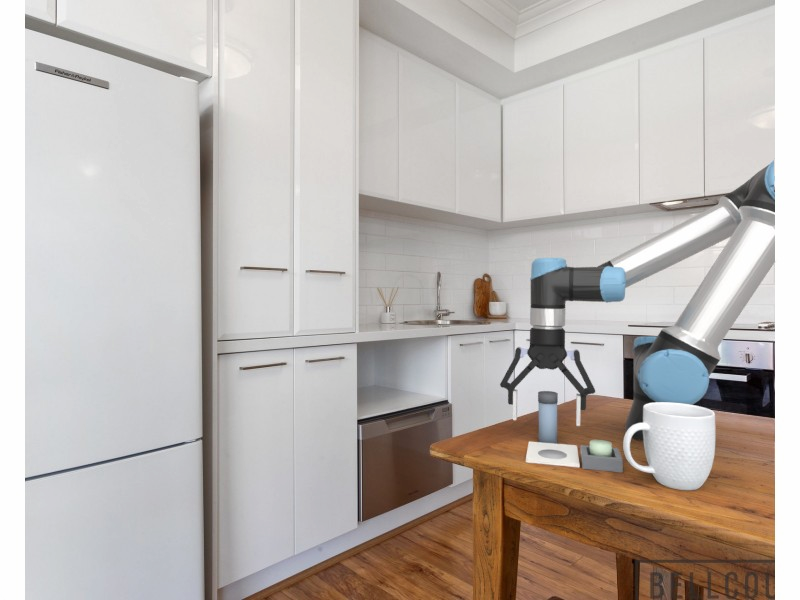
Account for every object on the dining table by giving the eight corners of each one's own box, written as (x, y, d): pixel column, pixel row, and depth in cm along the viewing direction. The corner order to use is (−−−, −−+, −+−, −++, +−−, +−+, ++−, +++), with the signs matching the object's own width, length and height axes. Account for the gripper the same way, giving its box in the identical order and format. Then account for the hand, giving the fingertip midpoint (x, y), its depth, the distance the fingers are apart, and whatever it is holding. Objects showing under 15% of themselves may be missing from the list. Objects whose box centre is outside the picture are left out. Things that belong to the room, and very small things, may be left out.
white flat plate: (576, 448, 104) (576, 444, 104) (579, 467, 93) (579, 463, 93) (528, 444, 108) (528, 440, 108) (525, 462, 96) (525, 458, 96)
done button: (610, 453, 96) (610, 440, 96) (612, 460, 92) (612, 446, 92) (589, 451, 97) (588, 438, 97) (590, 458, 93) (590, 445, 93)
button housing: (618, 460, 97) (618, 448, 97) (622, 472, 90) (622, 459, 90) (580, 456, 99) (580, 445, 99) (582, 468, 92) (582, 456, 92)
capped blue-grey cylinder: (557, 439, 111) (557, 391, 110) (557, 445, 107) (557, 395, 106) (538, 438, 112) (538, 390, 112) (537, 443, 108) (537, 394, 108)
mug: (639, 496, 80) (639, 417, 80) (610, 471, 91) (610, 402, 91) (730, 496, 80) (730, 416, 79) (691, 471, 91) (691, 401, 90)
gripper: (605, 327, 109) (604, 422, 109) (493, 324, 116) (491, 412, 117) (609, 330, 101) (607, 431, 102) (489, 326, 109) (487, 420, 109)
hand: (545, 421), depth 109 cm, fingers open, 13 cm apart
